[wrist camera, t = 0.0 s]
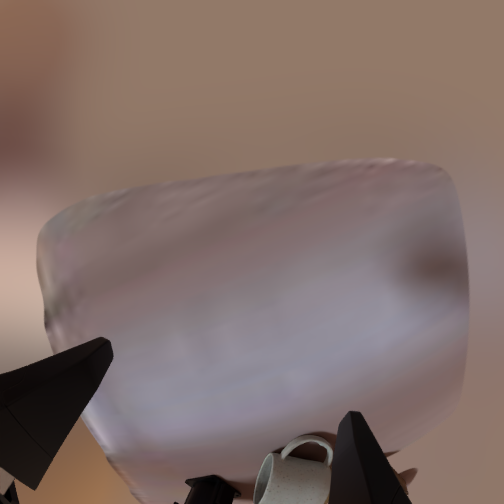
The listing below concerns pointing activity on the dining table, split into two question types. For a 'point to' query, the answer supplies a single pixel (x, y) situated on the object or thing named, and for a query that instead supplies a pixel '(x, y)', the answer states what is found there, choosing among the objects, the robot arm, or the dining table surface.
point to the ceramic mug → (294, 477)
